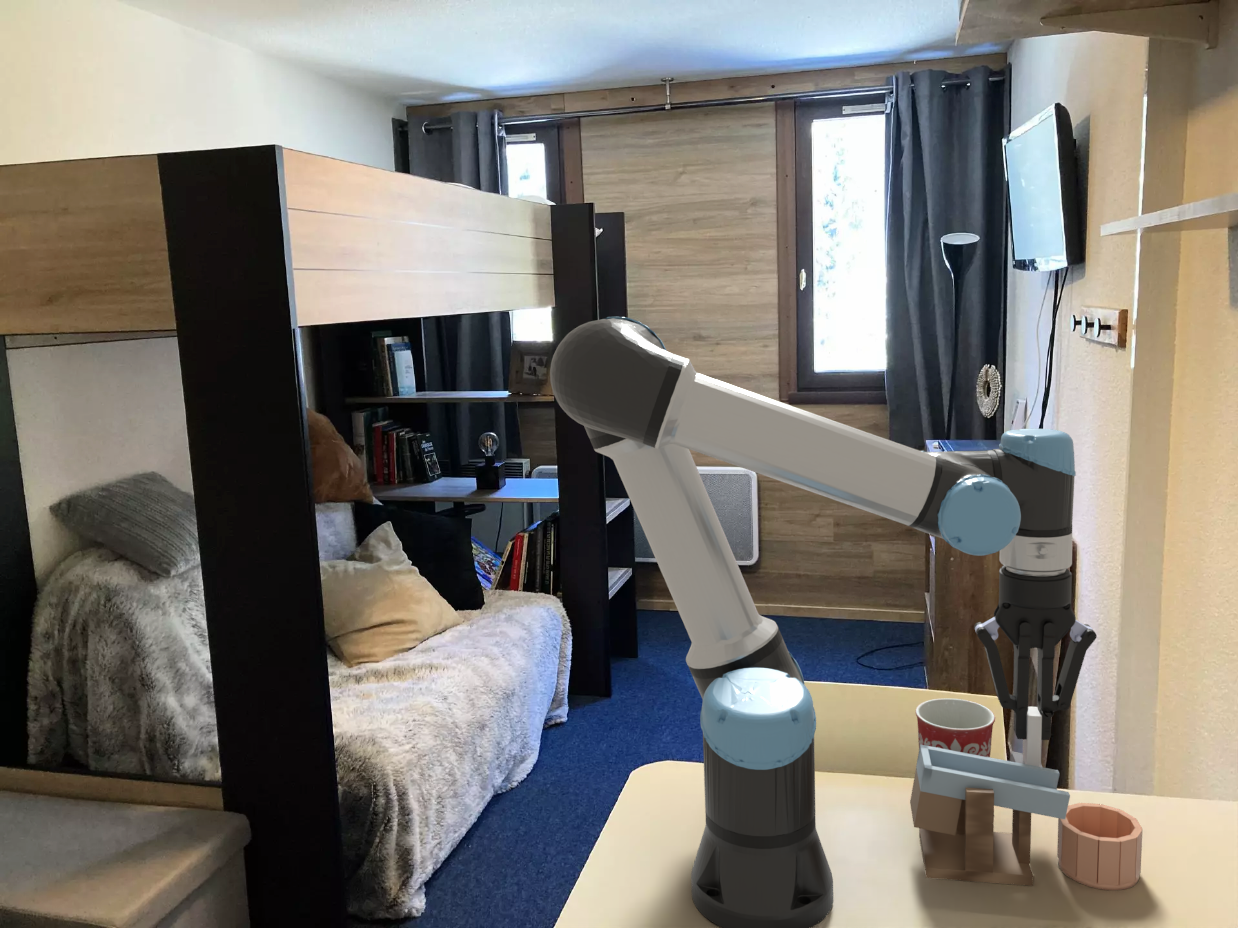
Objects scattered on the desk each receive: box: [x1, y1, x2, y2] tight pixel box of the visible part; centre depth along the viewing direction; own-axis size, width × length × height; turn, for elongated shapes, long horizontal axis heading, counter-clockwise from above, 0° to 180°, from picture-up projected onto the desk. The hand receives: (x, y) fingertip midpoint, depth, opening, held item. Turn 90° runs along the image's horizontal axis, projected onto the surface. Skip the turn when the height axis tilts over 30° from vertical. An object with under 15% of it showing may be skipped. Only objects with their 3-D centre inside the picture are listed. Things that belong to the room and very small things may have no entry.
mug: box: [915, 698, 996, 758], centre depth 121 cm, size 13×9×14 cm
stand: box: [918, 788, 1034, 887], centre depth 111 cm, size 11×9×10 cm
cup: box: [1056, 802, 1143, 891], centre depth 108 cm, size 8×8×6 cm
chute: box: [909, 745, 1071, 835], centre depth 113 cm, size 15×13×7 cm
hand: (1031, 763), depth 115 cm, fingers closed
